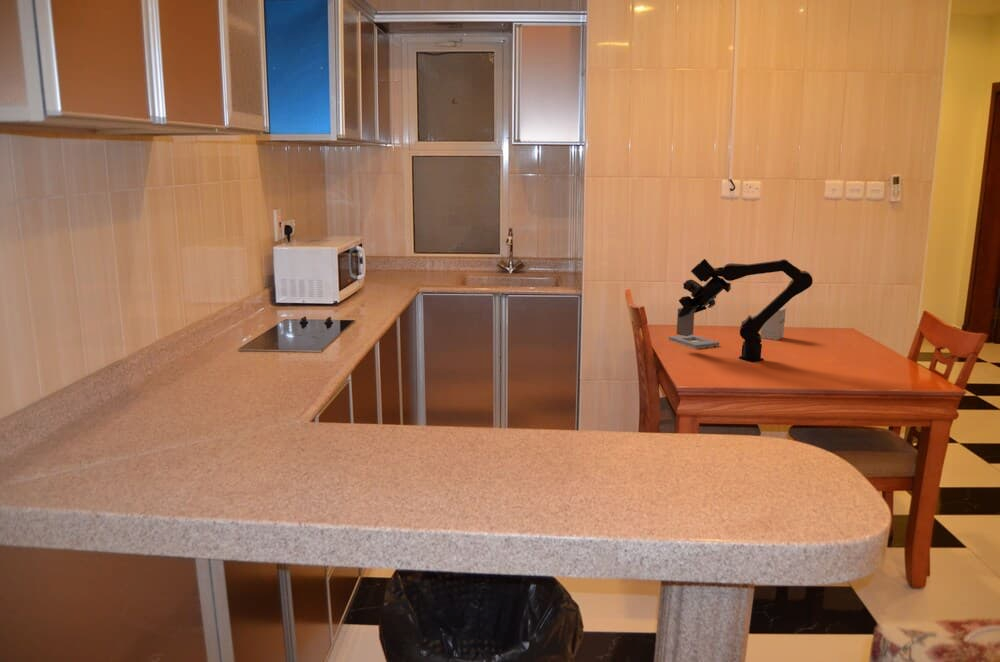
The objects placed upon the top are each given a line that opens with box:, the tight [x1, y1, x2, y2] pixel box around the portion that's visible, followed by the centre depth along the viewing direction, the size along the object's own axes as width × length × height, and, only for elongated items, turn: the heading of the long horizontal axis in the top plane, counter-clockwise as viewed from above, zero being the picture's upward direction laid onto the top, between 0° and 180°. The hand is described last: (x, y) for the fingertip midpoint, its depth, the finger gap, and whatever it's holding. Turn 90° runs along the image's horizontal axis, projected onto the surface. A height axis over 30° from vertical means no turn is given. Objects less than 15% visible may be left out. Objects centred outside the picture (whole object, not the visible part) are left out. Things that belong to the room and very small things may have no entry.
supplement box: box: [760, 307, 787, 341], centre depth 324 cm, size 7×7×13 cm
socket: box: [668, 334, 720, 350], centre depth 312 cm, size 16×12×2 cm
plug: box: [676, 307, 695, 336], centre depth 297 cm, size 4×4×12 cm
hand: (682, 315), depth 298 cm, fingers closed on plug, 4 cm apart
